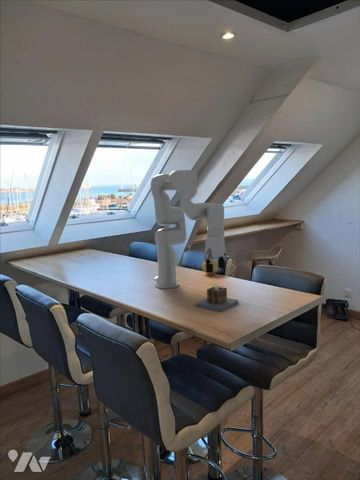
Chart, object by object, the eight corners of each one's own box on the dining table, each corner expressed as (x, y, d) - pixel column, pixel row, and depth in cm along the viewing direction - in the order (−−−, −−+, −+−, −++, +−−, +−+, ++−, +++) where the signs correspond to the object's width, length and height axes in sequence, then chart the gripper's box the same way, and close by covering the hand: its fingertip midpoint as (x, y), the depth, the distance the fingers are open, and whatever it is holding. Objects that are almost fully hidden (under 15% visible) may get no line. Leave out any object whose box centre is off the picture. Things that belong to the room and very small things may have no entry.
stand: (195, 306, 165) (194, 288, 164) (212, 298, 176) (212, 281, 175) (222, 312, 157) (221, 292, 156) (238, 303, 168) (238, 285, 167)
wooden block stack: (207, 302, 166) (206, 289, 165) (214, 298, 171) (214, 286, 170) (219, 304, 162) (219, 291, 161) (226, 300, 167) (226, 288, 166)
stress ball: (220, 276, 222) (220, 263, 228) (215, 266, 215) (216, 253, 221) (204, 278, 225) (204, 265, 231) (199, 268, 218) (200, 255, 224)
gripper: (218, 229, 171) (218, 265, 174) (197, 234, 157) (197, 273, 160) (232, 230, 166) (232, 267, 169) (211, 235, 153) (212, 275, 156)
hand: (215, 270), depth 165 cm, fingers open, 9 cm apart
